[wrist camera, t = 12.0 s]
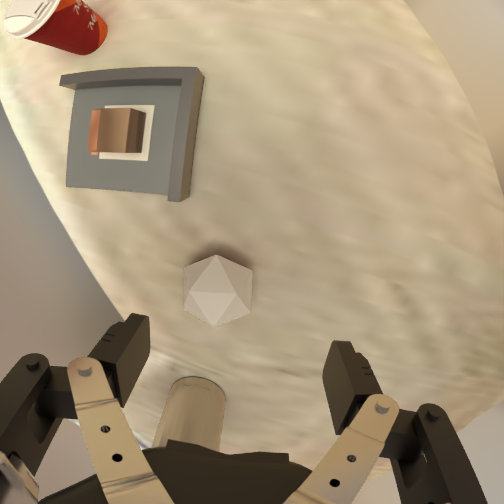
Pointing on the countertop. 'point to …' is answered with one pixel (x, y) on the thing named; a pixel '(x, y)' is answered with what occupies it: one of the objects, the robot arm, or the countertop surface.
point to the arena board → (155, 132)
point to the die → (217, 290)
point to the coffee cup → (56, 24)
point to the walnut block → (116, 130)
